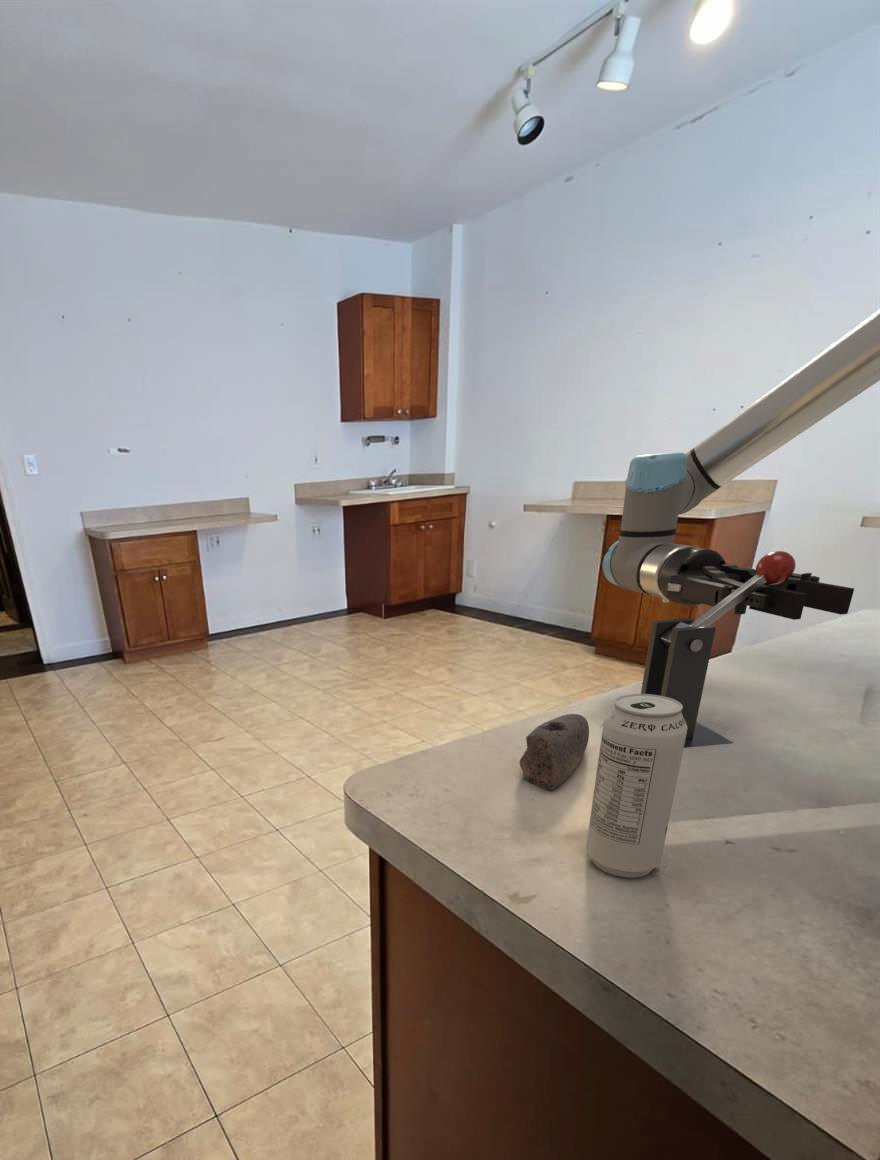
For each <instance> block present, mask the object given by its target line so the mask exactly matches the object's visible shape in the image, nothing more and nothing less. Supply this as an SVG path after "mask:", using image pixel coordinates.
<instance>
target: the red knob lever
mask: <svg viewBox="0 0 880 1160" xmlns="http://www.w3.org/2000/svg"><path fill="white" fill-rule="evenodd" d="M755 570H756V575H755V576H754V577H752V578H751V579H750V580H748V581H747V582H746V583H744V584H743V585H742V586H741V587H739V588H738V589H737V590H735V591H734V592H733V593H731V594H730V595H729V596H727V597H726V598H725V599H723V600H722V601H721V602H719V603H718V604H717V605H715V606H714V607H713V606H712V607H711V608H710V609H709V610H707V611H706V612H704V613H703V614H702V615H701V616H699V617H698V618H696V620H693V623H692V624H690V625H688V624H685V623H682V622H680V623H679V624H678V625H676V626H675V627H674V628H685V627H697V626H708V625H712V624H714V623H715V622H716V621H717V620H719V619H720V618H722V617H723V616H724V615H725V614H726V613H728V612H729V611H730V610H732V609H733V608H735V607H734V606H736V605H737V604H738V603H740V602H741V601H742V600H744V599H745V598H746V597H748V596H749V595H750V594H752V593H753V592H754V591H756V590H757V589H758V588H760V587H761V586H762V585H764V584H770V585H775V584H779V583H782V582H784V581H786V580H787V579H789V578H790V577H791V575H792V574H793V573H795V570H796V560H795V558H794V557H793V555H792V554H790V553H789V552H788V551H783V550H775V551H771V552H768V553H766V554H765V555H763V556H762V557H761V558H760V559H759V560H758V562H757V563H756V566H755ZM672 630H673V628H672V629H671V630H670V631H668V632H667V633H666V634H664V635H663V636H662V637H660V638H661V640H662V642H663V643H664V645H665V646H666V648H667V650H668V651H669V647H670V641H671V636H672Z"/></svg>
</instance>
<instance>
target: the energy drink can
mask: <svg viewBox="0 0 880 1160" xmlns="http://www.w3.org/2000/svg"><path fill="white" fill-rule="evenodd" d="M682 708H683V706H682V704H681V703H680V702H678V701H676V700H674V699H671V698H668V697H664V696H659V695H651V694H641V693H631V694H624V695H621V696H619V697H617V698H616V699H615V701H614V706H613V707H612V709H610V711H609V712H608V713H607V715H606V716H605V717H604V719H603V723H602V724H603V728H602V731H601V738H600V746H599V752H598V753H599V754H598V758H597V759H598V760H597V766H596V773H595V774H596V775H595V782H594V787H593V788H594V789H593V794H592V802H591V809H590V815H589V823H588V831H587V837H586V845H585V850H586V852H587V854H588V856H589V857H590V859H591V862H592V863H593V865H594V866H595V867H597V868H598V869H599V870H601V871H603V872H604V873H607V874H609V875H612V876H616V877H620V878H629V879H630V878H631V879H632V878H633V879H634V878H639V877H640V878H641V877H644V876H647V875H648V874H651V872H652V870H655V869H656V868H657V867H658V866H659V865H660V864H661V862H662V857H663V853H664V848H665V843H666V839H667V834H668V833H667V832H668V827H669V823H670V817H671V813H672V808H673V804H674V797H675V793H676V788H677V783H678V778H679V773H680V768H681V762H682V758H683V753H684V749H685V748H684V744H685V739H686V734H687V729H688V728H687V725H686V722H685V720H684V718H683V715H682V713H681V711H682Z"/></svg>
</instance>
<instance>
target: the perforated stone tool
mask: <svg viewBox="0 0 880 1160" xmlns="http://www.w3.org/2000/svg"><path fill="white" fill-rule="evenodd" d="M589 737H590V726H589V722H588V720H587V718H586V717H585V716H583V715H582V714H579V713H568V714H562V715H560V716H556V717H555V718H552V719H550V720H547V721H545V722H543V723H541V724H540V725H537V726H536V727H535V728H534V729H533V730H532V731H531V732H530V733H529V734H528V735H526V738H525V741H526V750H525V751H524V753H523V755H522V756H521V758H520V759H519V767H520V769H521V771H522V775H523V779H524V780H525V781H527V782H528V783H531V784H533V785H535V786H537V787H539V788H541V789H544V790H548V791H551V792H552V791H554V790H556V789H557V788H558V787H560V786H561V785H563V784H564V783H565V782H566V781H567V780H568V779H569V778H570V776H571V775H572V774H573V773H574V771H575V770H576V769H577V767H578V765H579V763H580V761H581V759H582V757H583V756H584V754H585V753H586V749H587V747H588V743H589V739H590V738H589Z"/></svg>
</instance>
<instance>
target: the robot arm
mask: <svg viewBox="0 0 880 1160" xmlns="http://www.w3.org/2000/svg"><path fill="white" fill-rule="evenodd" d="M879 381H880V309H878V310H877V311H876V312H874V313H873V314H872V315H871V316H869V317H868V318H867V319H865V320H864V321H862V322H861V323H860V324H858V325H857V326H855V327H854V328H853V329H852V330H850V331H849V332H847V333H846V334H844V336H842V337H841V338H839V339H838V340H836V342H834V343H832V344H831V345H830V346H829V347H827V348H826V349H825V350H823V351H822V352H820V353H819V354H818V355H816V356H815V357H813V359H811V360H810V361H808V362H807V363H805V364H804V365H803V366H802V367H800V368H799V369H797V370H796V371H795V372H794V373H792V374H790V375H789V377H787V378H786V379H784V380H783V381H781V382H780V383H779V384H778V385H776V386H775V387H774V388H772V389H771V390H769V391H768V392H766V393H765V394H764V395H763V396H761V397H760V398H758V399H757V400H755V401H754V402H753V403H752V404H750V405H749V406H748V407H746V408H745V409H744V410H742V411H741V412H740V413H738V414H736V416H734V417H733V418H732V419H730V420H729V421H728V422H726V423H725V424H724V425H722V426H721V427H720V428H718V429H717V430H715V431H714V432H712V433H711V434H710V435H709V436H708V437H706V438H705V439H703V440H702V441H701V442H700V443H698V444H696V445H695V446H694V447H693V448H691V449H690V450H689V451H686V453H685V452H681V451H679V452H677V451H676V452H664V453H650V454H649V453H648V454H639V455H635V456H633V458H631V460H630V462H629V466H628V472H627V476H626V479H625V481H624V482H625V483H624V485H625V491H624V499H623V508H622V515H621V522H620V523H621V524H620V532H619V535H618V540H616V541H615V542H614V543H613V544H611V546H610V547H608V550H607V551H606V553H605V555H604V557H603V560H602V571H603V572H602V573H603V575H604V577H605V578H606V579H607V580H608V582H609V583H611V584H613V585H615V586H617V587H619V588H621V589H623V590H626V591H630V592H631V591H632V592H636V593H641V594H645V595H648V596H651V597H655V598H660V599H661V602H662V603H665V604H666V603H669V602H673V603H676V604H680V605H682V606H683V605H684V606H687V607H696V606H701V605H706V606H710V607H712V608H713V607H714V606H715V605H717V604H718V603H719V602H721V601H722V600H723V599H725V598H726V597H727V596H729V595H730V594H731V593H733V592H734V591H735V590H737V589H738V588H739V587H741V586H742V585H743V584H744V583H746V582H747V581H748V580H750V579H751V578H752V577H754V576H755V575H756V568H748V567H740V566H738V565H737V564H729V563H726V561H725V558H724V557H723V556H722V554H720V552H718V551H717V550H716V551H715V549H710V548H704V547H697V546H692V545H685V544H678V543H674V542H675V537H676V532H677V525H678V519H679V515H683V514H686V513H687V512H689V511H691V510H693V509H695V508H696V507H697V506H699V504H701V502H702V501H703V500H705V499H706V498H707V497H709V496H711V495H712V494H714V493H715V492H716V491H718V490H719V489H720V488H722V487H724V486H725V485H726V484H728V483H730V482H731V481H733V480H734V479H736V477H738V476H740V475H741V474H743V473H744V472H746V471H747V470H748V469H750V468H752V467H754V466H755V465H756V464H758V463H759V462H761V461H762V460H764V459H765V458H766V457H768V456H770V455H771V454H772V453H774V452H776V451H777V450H778V449H780V448H781V447H783V446H784V445H786V444H787V443H789V442H790V441H792V440H793V439H795V438H796V437H798V436H799V435H801V434H802V433H804V432H806V431H807V430H808V429H810V428H811V427H813V426H814V425H816V424H817V423H818V422H820V421H822V420H823V419H825V418H827V417H828V416H829V415H831V414H832V413H833V412H835V411H836V410H838V409H839V408H842V406H845V404H847V403H848V402H850V401H852V400H853V399H854V398H856V397H858V396H859V395H860V394H862V393H863V392H865V391H867V390H868V389H869V388H871V387H872V386H874V385H875V384H877V383H879ZM812 574H813V573H812V572H803V573H795V572H793V574H792V575H791V577H790V578H789V579H787V580H786V581H784V582H782V583H779V584H775V585H770V584H764V585H762V586H761V587H760V588H758V589H757V590H756V591H754V592H753V593H752V594H750V595H749V596H748V597H746V598H745V599H744V600H742V601H741V602H740V603H738V604H737V605H736V606H734V607H733V608H734V610H733V614H734V615H746V612H747V608H748V607H749V608H748V609H749V610H753V611H756V612H762V613H765V614H769V615H772V616H773V615H774V616H778V617H782V618H785V619H790V620H793V621H795V620H796V621H797V620H801V618H802V614H803V611H804V608H809V609H814V610H818V611H824V612H826V613H827V612H828V613H832V614H836V615H848V614H849V611H850V606H851V603H852V602H851V601H852V599H853V596H854V592H855V588H854V587H848V586H842V585H838V584H832V583H827V582H826V583H825V582H821V581H820V577H819V576H817V575H812Z"/></svg>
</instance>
